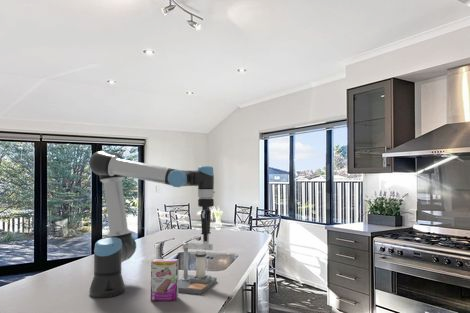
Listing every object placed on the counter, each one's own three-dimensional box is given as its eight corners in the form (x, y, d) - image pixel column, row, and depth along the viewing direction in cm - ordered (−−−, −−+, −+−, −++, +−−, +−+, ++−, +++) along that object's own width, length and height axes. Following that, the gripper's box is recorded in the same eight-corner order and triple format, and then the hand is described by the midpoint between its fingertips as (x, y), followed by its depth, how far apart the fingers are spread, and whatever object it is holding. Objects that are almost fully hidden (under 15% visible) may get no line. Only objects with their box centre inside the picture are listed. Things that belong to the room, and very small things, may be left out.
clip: (211, 250, 168) (211, 245, 168) (181, 249, 171) (181, 243, 171) (213, 249, 171) (213, 243, 171) (183, 247, 174) (183, 242, 174)
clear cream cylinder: (203, 283, 166) (203, 253, 166) (193, 282, 167) (193, 252, 168) (207, 280, 171) (207, 250, 171) (198, 279, 172) (198, 250, 173)
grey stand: (201, 294, 156) (201, 256, 157) (167, 291, 161) (168, 253, 162) (217, 281, 175) (217, 247, 176) (187, 278, 180) (187, 245, 181)
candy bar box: (150, 301, 147) (150, 261, 148) (152, 297, 152) (153, 258, 153) (177, 301, 148) (177, 261, 149) (178, 297, 153) (178, 258, 154)
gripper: (211, 198, 163) (211, 250, 162) (215, 197, 176) (216, 245, 174) (195, 198, 164) (195, 250, 163) (201, 197, 177) (201, 245, 175)
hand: (205, 247), depth 169 cm, fingers closed
